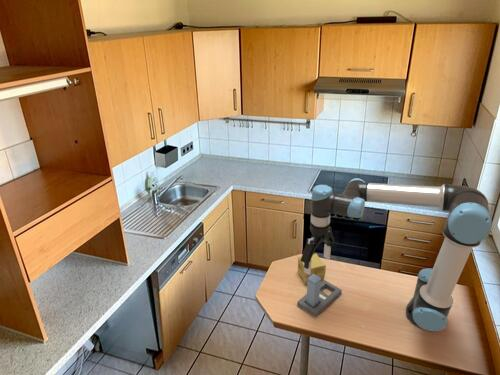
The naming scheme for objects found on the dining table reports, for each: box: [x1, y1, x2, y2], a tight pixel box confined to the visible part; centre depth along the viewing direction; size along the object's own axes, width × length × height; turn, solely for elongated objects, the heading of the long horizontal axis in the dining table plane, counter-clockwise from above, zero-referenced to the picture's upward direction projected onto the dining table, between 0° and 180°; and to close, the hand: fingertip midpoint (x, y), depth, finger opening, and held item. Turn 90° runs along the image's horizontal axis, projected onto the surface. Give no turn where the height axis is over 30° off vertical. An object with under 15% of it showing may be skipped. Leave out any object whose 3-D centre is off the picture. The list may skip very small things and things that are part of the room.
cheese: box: [297, 253, 327, 286], centre depth 184 cm, size 10×11×10 cm
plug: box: [306, 274, 321, 308], centre depth 165 cm, size 4×4×16 cm
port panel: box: [296, 279, 343, 318], centre depth 171 cm, size 10×20×3 cm, turn 135°
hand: (317, 265), depth 158 cm, fingers open, 13 cm apart
